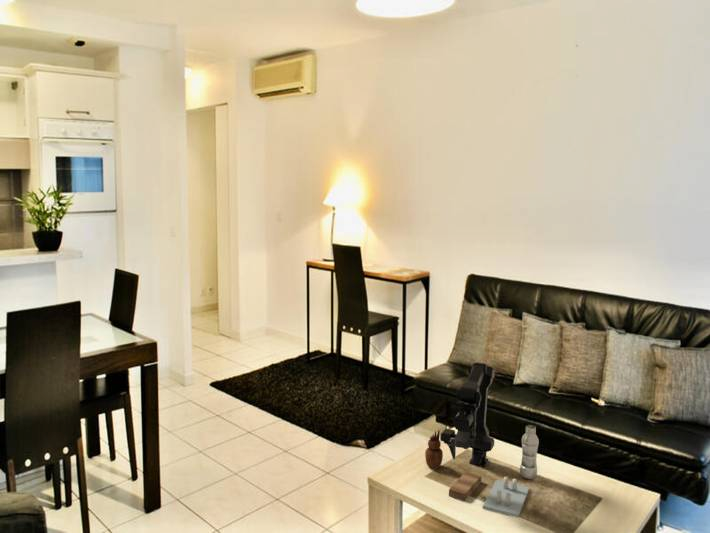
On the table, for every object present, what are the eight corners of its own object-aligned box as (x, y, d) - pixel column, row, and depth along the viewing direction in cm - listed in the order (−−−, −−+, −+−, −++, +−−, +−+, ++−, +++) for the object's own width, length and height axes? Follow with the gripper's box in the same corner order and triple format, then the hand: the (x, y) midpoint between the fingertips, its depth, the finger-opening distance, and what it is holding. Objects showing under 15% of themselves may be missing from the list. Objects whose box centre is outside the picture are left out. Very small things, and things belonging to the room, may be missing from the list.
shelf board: (466, 478, 218) (466, 471, 217) (481, 483, 214) (481, 475, 214) (448, 497, 204) (448, 489, 204) (464, 502, 201) (464, 494, 201)
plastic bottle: (518, 479, 217) (521, 429, 214) (520, 471, 223) (523, 422, 220) (536, 482, 214) (539, 431, 212) (537, 474, 220) (540, 425, 218)
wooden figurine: (441, 463, 229) (443, 427, 227) (442, 470, 223) (443, 433, 221) (424, 462, 229) (425, 427, 227) (425, 469, 224) (426, 433, 222)
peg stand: (496, 482, 214) (496, 469, 213) (529, 490, 209) (529, 477, 208) (482, 508, 196) (483, 494, 196) (518, 517, 191) (519, 503, 190)
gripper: (435, 423, 203) (434, 465, 205) (488, 434, 195) (486, 477, 197) (445, 413, 213) (444, 452, 215) (495, 422, 204) (493, 463, 207)
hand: (466, 461), depth 208 cm, fingers open, 9 cm apart
